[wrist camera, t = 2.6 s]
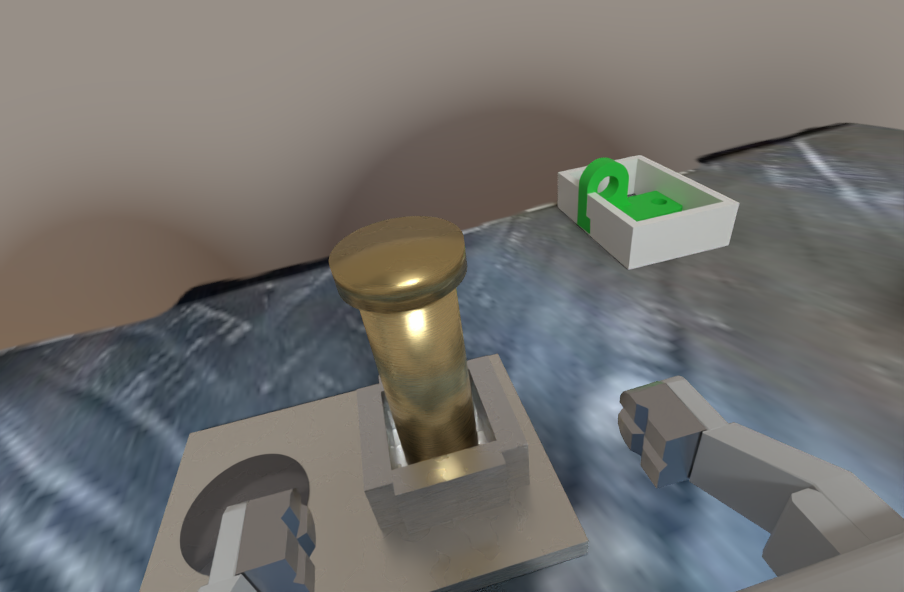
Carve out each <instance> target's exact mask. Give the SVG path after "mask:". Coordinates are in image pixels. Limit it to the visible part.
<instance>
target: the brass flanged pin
mask: <svg viewBox="0 0 904 592" xmlns="http://www.w3.org/2000/svg"><path fill="white" fill-rule="evenodd" d="M329 266H330V269H331V272H332V275H333V278H334V281H335V284H336V287H337V290H338V293H339V295H340V297H341V298H342V299H343V301H345V302H346V303H347V304H349V305H350V306H352V307H354V308H357V309H359V310H360V313H361V316H362V320H363V323H364V326H365V329H366V333H367V336H368V339H369V342H370V346H371V349H372V352H373V355H374V359H375V362H376V365H377V368H378V372H379V375H380V378H381V382H382V385H383V388H384V391H385V395H386V398H387V401H388V404H389V408H390V411H391V414H392V417H393V421H394V424H395V427H396V430H397V434H398V437H399V440H400V443H401V447H402V450H403V453H404V456H405V460H406V463H407V466H408V465H411V464H415V463H418V462H422V461H426V460H429V459H433V458H436V457H440V456H443V455H447V454H450V453H454V452H457V451H461V450H464V449H468V448H471V447H475V446H478V445H479V441H478V434H477V427H476V421H475V414H474V407H473V400H472V393H471V386H470V380H469V373H468V366H467V359H466V352H465V346H464V339H463V332H462V325H461V318H460V311H459V305H458V298H457V291H456V287H457V286H458V285H459V284H460V283H461V282H462V280H463V279H464V277H465V275H466V272H467V261H466V253H465V245H464V237H463V233H462V231H461V230H460V229H459V228H458V227H457V226H456V225H455V224H453V223H451V222H449V221H447V220H443V219H440V218H435V217H427V216H409V217H399V218H394V219H388V220H384V221H380V222H377V223H374V224H371V225H368V226H366V227H363V228H361V229H359V230H357V231H355V232H353V233H351V234H350V235H348V236H347V237H345V238H344V239H342V240H341V241H340V242H339V243H338V244H337V245H336V246H335V247H334V249H333V250H332V252H331V254H330V257H329Z"/></svg>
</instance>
